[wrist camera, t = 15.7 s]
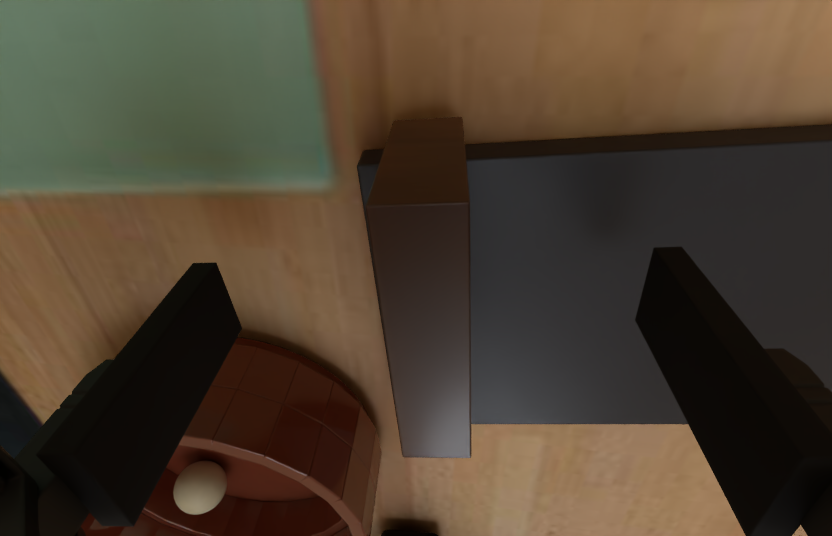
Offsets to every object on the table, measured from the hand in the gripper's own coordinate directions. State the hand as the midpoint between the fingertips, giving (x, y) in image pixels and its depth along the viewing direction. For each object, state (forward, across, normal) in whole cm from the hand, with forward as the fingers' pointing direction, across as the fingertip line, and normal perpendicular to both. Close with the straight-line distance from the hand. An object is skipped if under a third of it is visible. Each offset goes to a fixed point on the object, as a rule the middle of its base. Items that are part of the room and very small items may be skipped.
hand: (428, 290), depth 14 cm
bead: (+2, -14, -16) cm, 21 cm away
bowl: (+5, -11, -13) cm, 18 cm away
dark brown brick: (+3, 0, 0) cm, 3 cm away
